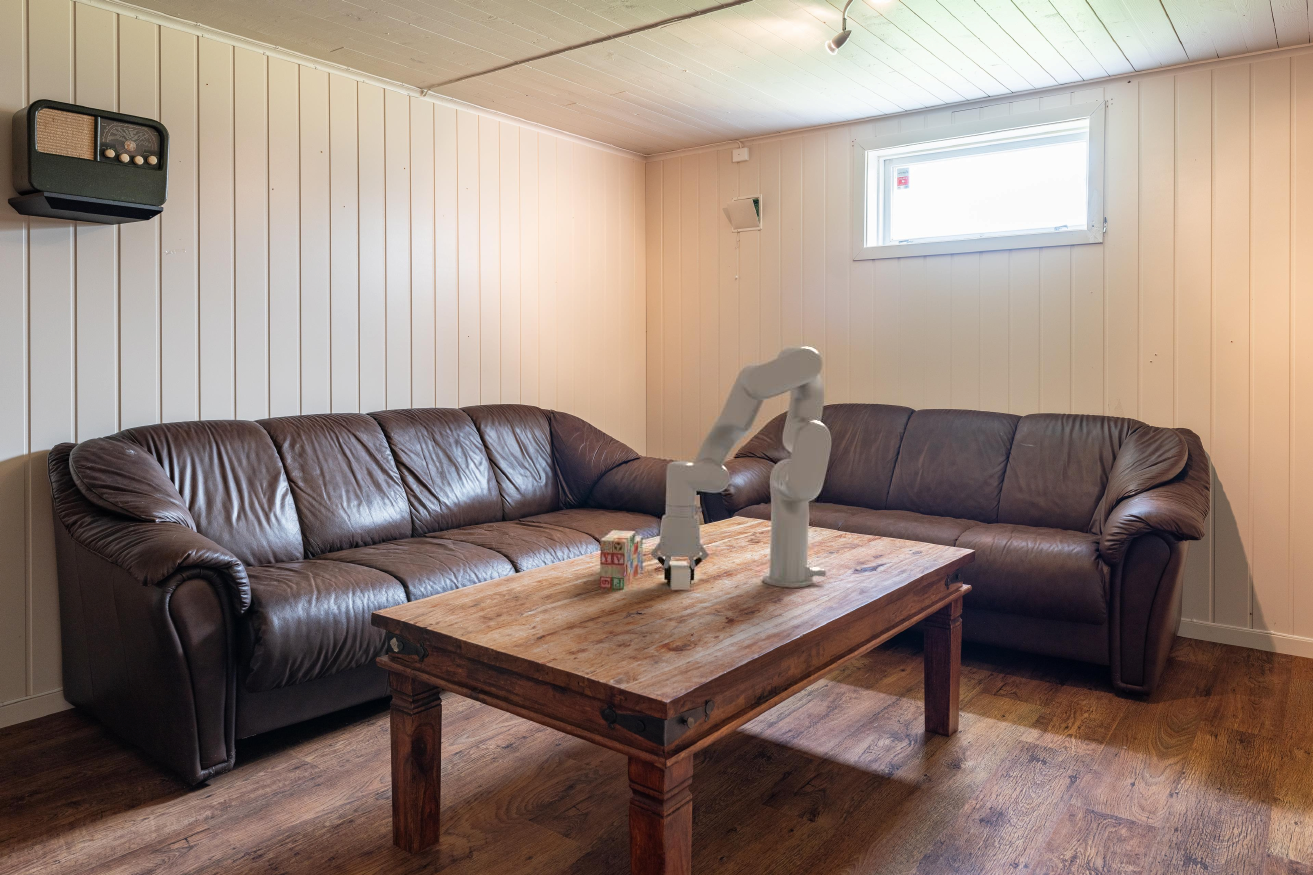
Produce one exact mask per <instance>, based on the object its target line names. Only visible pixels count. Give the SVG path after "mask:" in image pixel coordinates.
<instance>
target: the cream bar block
mask: <svg viewBox="0 0 1313 875" xmlns="http://www.w3.org/2000/svg"><path fill="white" fill-rule="evenodd" d="M669 566H670V584H669V586H670V588H671V590H672V591H675V590H676V591H683V590H684V591H689V590H691V585H690V572H691V570H690V568H689V563H688V561H685V560H681V561H680V560H679V561H678V560H673V561H671V560H670V563H669Z"/></svg>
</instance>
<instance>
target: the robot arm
mask: <svg viewBox="0 0 1313 875" xmlns="http://www.w3.org/2000/svg"><path fill="white" fill-rule="evenodd" d="M822 368H823V358H822V356H821V354H820V353H819V352H818V351H817V350H816V349H814V348H813V347H809V346H789V347H785V348H784V349H782V350H781V351H780V352H779V353H778V354H777V356H776V358H775V359H772V360H770V361H766V362H764V363H762V364H761V363H759V364H758V363H757V364H755V363H754V364H748V365H745V366H744V367H743V368H742V369H741V370H740V372H739V373H738V375H737V376H736V379H735V381H734V384H733V386H732V388H731V390H730V393H729V394H728V397H727V400H726V402H725V403H724V406H723V408H722V410H721V412H720V414H719V416H718V418H717V420H716V421H715V423H714V425H713V426H712V428H711V429H710V431H709V432H708V434H707V435H706V437H705V438H704V440H703V442H702V444H701V446H700V449H699V451H697V455H696V456H695V460H694V462H691V461H685V460H683V461H682V460H679V461H677V460H676V461H670V462H669V463H668V464H667V466H666V478H665V479H666V483H665V484H666V487H665V488H666V489H665V491H666V492H665V514H664V515H662V517H661V523H660V532H659V542H658V543H656V546H655V547H654V548H653V549H652V550H651V551H650V555H651V557H653V558H654V559H655V560H656V561H658V563H660V564H661V566H662V567H663V568H664V570H663V571H664V573H663V574H664V577H663V578H664V581H666V584H667V585H670V566H669V563H670V561H671V560H672V559H671V558H688V562H689V564H688V566H689V568H690V570H691V572H690V586H691V585H692V581H693V582H694V581H695V569H696V568H697V566H698V565H700V564H701V563H702V561H705V559H707V558H709V556H710V554H709V553H708V551H707V550H706V548H705V547H704V546H703V544H702V543H701V529H700V528H701V527H700V519H699V516H698V515H697V514H699V513H702V512H703V511H702V510H703V509H702V506H698V505H697V492H702V493H703V492H704V493H705V492H706V493H713V494H714V493H715V494H716V493H720V492H723V491H725V489H726V488H727V487H728V486H729V484H730V480H731V475H730V472H729V470H728V469H727V468H726V466H724V464H725V462H726V460H727V458H728V456H729V454H730V452H731V451H732V449H733V448H734V446H736V444H738V442H739V441H741V440H743V439H744V438H745V437H746V436H747V435H748V434H749V433H750V432H751V430H752V428H753V426H754V423H755V421H756V419H757V417H758V414H759V412H760V410H761V407H762V406H763V403H764V401H765V400H768V399H772V398H775V397H778V396H780V395H783V394H785V393H788V392H789V393H790V394H789V395H790V397H789V405H788V410H787V414H786V419H785V423H784V428H783V432H782V444H783V446H784V448H785V449H786V450H787V451H788V452H790V453H791V454H790V455H791V456H790V458H787V459H786V458H785V459H782V460H780V461H778V462H777V463H776V464H775V465H774V466H773V467H772V469H771V471H770V474H769V475H770V477H769V488H770V489H769V490H770V501H771V503H770V504H771V511H770V512H771V514H770V517H771V518H770V539H769V540H770V544H769V547H770V548H769V572H767V573H765V574H764V575H763V576H762V579H763V580H762V581H763V582H764V583H765V584H768V585H771V586H774V587H781V588H790V589H791V588H792V589H793V588H795V589H796V588H805V587H810V586H811V585H813V583H814V582H813V581H814V577H826V574H827V571H826V568H819V567H810V565H809V564H808V549H809V523H810V508H809V507H810V504H809V502H811V501H813V500H815V498H817V497H818V496H819V495H820V493H821V491H822V489H823V486H824V483H825V479H826V474H827V469H828V464H829V461H830V455H831V450H832V435H831V433H830V430H829V428H828V427H827V425H826V424H824V423H822V418H823V417H822V416H823V410H824V402H825V388H824V387H825V386H824V383H823V380H822V378H821V374H820V373H821V372H822ZM659 553H660V554H659Z"/></svg>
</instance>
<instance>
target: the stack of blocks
mask: <svg viewBox="0 0 1313 875" xmlns="http://www.w3.org/2000/svg"><path fill="white" fill-rule="evenodd" d="M643 542H644V541H643V536H642V535H636V531H632V530H617V529H616V530H615V529H612V530H611V531H610V532H609V533H608V534H606V535H605V536H604V537H602V538H601V539H600V555H599V560H600V561H599V563H600V565H599V566H600V572H599V588H601V589H615V590H625V589H626V588H627V587H628V586H629V585H630V584H631V583H632V582H633V580H634V579H635V578H636V577H637V575H639V574H640V572H642V571H643V561H644V560H643V558H644V552H643V551H644V547H643Z"/></svg>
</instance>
